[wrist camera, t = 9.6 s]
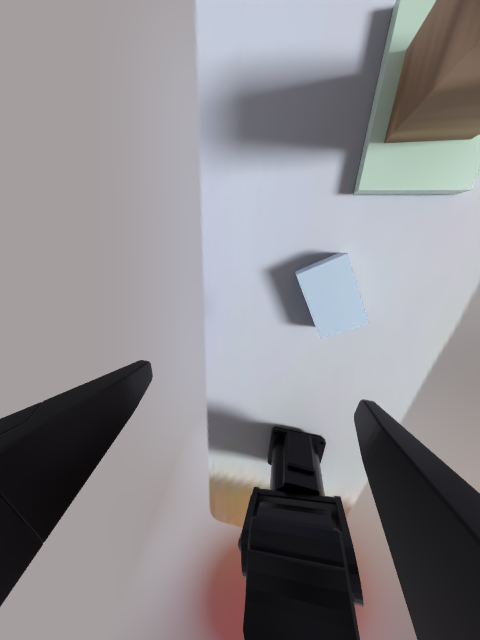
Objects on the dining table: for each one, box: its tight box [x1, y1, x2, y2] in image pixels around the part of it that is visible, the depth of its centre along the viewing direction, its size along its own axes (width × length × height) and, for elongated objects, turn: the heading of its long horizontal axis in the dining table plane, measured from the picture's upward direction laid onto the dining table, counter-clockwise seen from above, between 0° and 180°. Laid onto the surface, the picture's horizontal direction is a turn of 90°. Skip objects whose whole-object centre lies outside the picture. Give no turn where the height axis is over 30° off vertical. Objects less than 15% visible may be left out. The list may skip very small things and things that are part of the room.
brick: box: [295, 253, 369, 338], centre depth 17 cm, size 6×4×3 cm, turn 25°
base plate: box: [354, 0, 480, 194], centre depth 13 cm, size 10×7×1 cm
